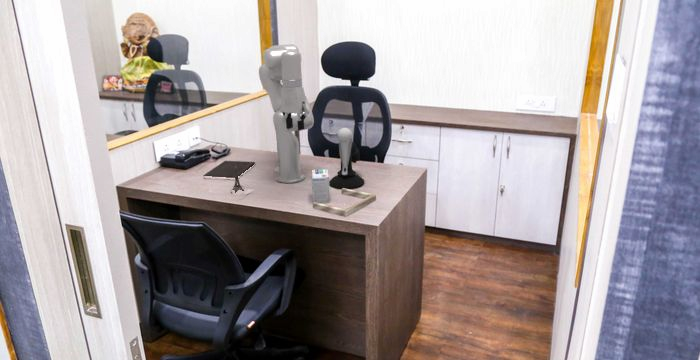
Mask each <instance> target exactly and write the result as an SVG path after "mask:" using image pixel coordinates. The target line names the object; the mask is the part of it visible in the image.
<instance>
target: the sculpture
mask: <svg viewBox="0 0 700 360" xmlns="http://www.w3.org/2000/svg"><path fill="white" fill-rule="evenodd" d="M337 137H338V138H337V139H338V141H339V142H338V148H339V149H338V151H339V153H338V154H339V157H340V158H339V159H340V170H338V171H337V175H335V176H333V177H332V178H331V179H329V187H331V188H333V189H336V190H341V189H342V188H346V189H350V190H357V189H359V188H362V187H363V186H364V185H365V180H364V179H363V178H362V177H361V175H358V174H356V173H357V172H356V170H354V169H353V164H356V163H357V162H360V158H361V157H360V154H361V153H360V149H359V148H357V144H356V143H355V142H354V141H353V132H352V130H351V129H350V128H348V127H342V128H341V129H339V130H338V131H337Z"/></svg>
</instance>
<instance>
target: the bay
mask: <svg viewBox="0 0 700 360" xmlns="http://www.w3.org/2000/svg"><path fill="white" fill-rule="evenodd" d="M340 191H341V194H342V195H346V196H351V197H355V198H359V199H362V200H360V201H357V203H355V204H353V205H351V206H349V207H347V208H345V209H344V208H340V207H336V206H333V205H328V204H325V203H317V202H314V203H313V202H312V208H313V209H315V210H318V211H323V212H327V213H330V214H334V215H339V216H340V217H341V216H343V217H345V218H347V217H348V216H350V215H352V214H354V213H355V212H357V211H359V210H361V209H362V208H364V207H366V206H369V204H371V203H373V202H375V201H376V200H377V194H373V193H369V192H363V191H358V190H356V189H346V188H342V189H340Z"/></svg>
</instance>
